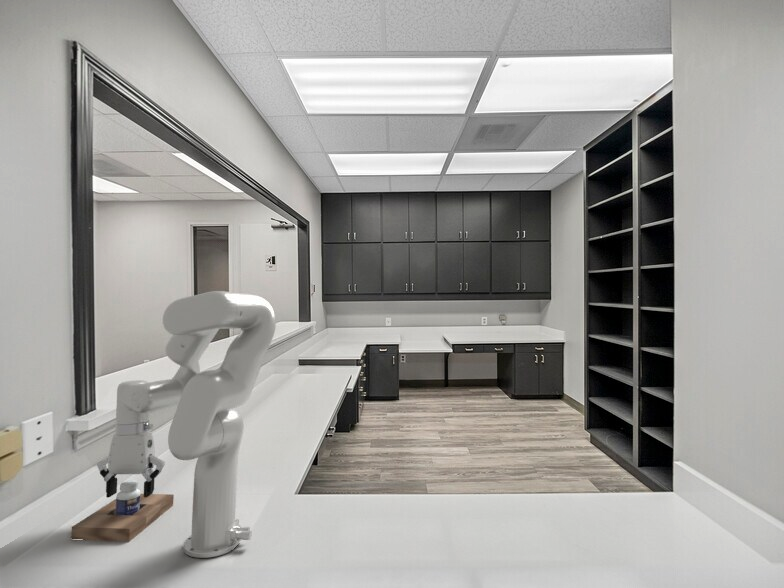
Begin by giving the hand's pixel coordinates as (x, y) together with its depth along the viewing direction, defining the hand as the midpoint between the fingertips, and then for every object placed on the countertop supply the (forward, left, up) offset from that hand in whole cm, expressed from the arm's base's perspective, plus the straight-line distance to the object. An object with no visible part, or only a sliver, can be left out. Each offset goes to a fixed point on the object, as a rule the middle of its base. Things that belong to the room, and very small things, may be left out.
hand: (129, 495), depth 112 cm
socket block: (+1, 0, -7) cm, 7 cm away
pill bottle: (0, 0, -7) cm, 7 cm away
